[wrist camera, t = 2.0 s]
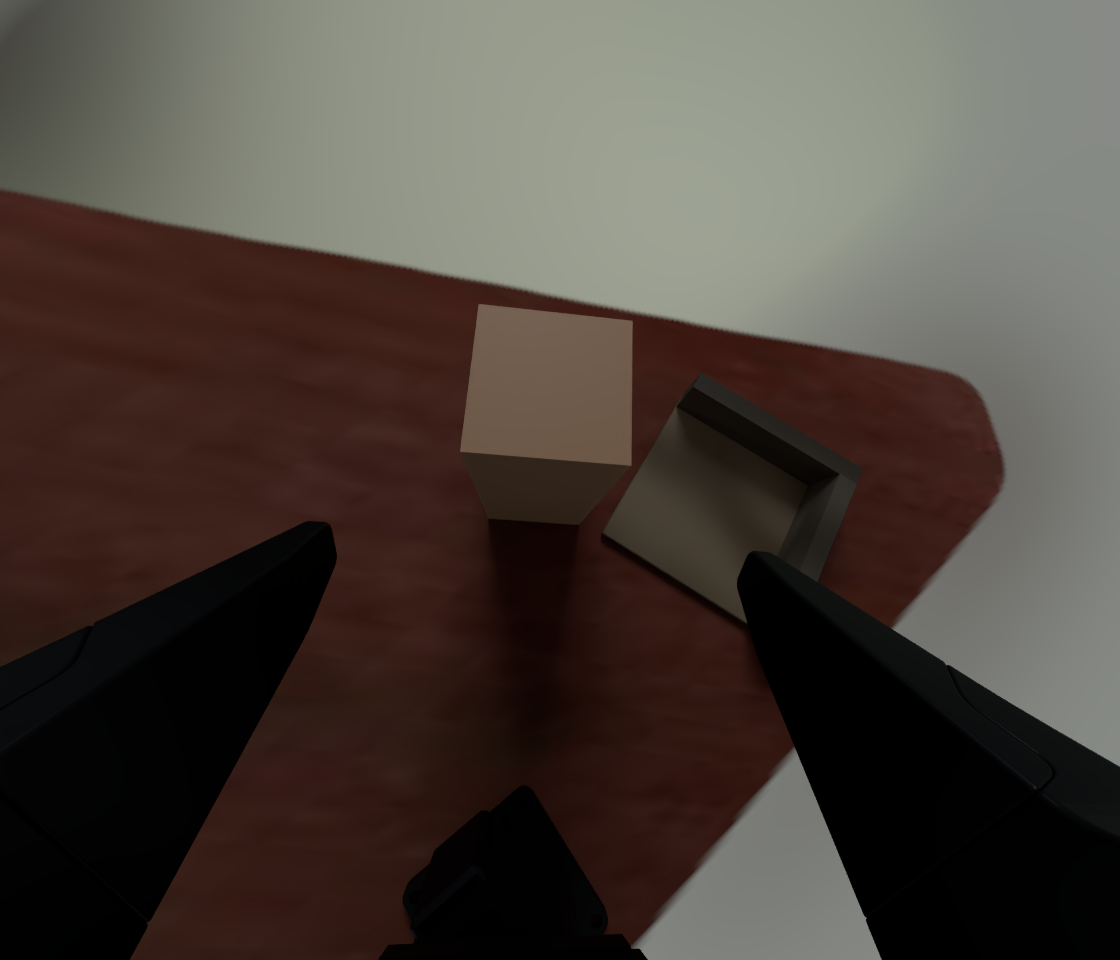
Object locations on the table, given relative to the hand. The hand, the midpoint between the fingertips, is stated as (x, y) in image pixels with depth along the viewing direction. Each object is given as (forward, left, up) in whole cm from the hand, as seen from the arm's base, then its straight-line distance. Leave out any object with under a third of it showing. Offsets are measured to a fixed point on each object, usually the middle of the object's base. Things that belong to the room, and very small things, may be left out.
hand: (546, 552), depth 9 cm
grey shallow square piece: (-3, -10, -13) cm, 17 cm away
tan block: (+4, -3, -13) cm, 14 cm away
